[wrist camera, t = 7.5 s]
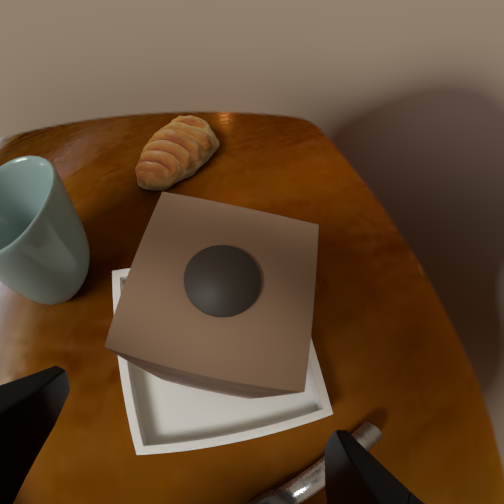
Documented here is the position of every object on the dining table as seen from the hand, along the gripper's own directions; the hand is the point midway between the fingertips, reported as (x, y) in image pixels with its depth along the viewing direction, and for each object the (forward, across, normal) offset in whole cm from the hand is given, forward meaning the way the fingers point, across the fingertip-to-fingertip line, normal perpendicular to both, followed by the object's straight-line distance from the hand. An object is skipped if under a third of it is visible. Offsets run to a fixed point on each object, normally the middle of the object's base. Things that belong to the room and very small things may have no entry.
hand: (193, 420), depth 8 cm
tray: (+11, 0, +5) cm, 12 cm away
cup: (+13, +14, +3) cm, 20 cm away
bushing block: (+11, 0, +4) cm, 12 cm away
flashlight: (+6, -9, +11) cm, 15 cm away
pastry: (+24, +8, -8) cm, 26 cm away
